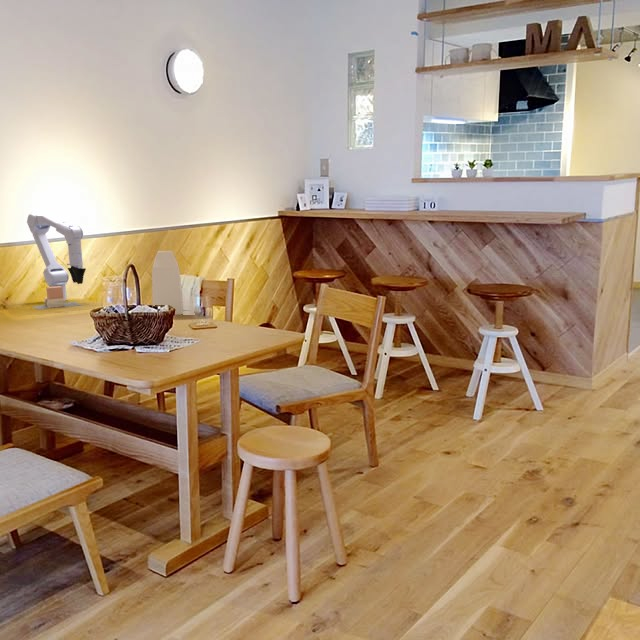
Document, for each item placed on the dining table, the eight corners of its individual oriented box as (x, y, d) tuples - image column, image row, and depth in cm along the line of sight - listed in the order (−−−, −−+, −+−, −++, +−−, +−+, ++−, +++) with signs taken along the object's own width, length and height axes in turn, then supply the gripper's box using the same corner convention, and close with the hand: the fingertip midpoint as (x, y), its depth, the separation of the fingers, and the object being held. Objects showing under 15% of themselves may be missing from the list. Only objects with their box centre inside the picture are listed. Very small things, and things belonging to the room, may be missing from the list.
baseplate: (32, 309, 330) (31, 306, 330) (75, 305, 340) (74, 302, 340) (38, 312, 319) (37, 309, 319) (82, 308, 329) (82, 305, 329)
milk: (152, 315, 303) (148, 252, 299) (155, 311, 314) (151, 250, 310) (182, 314, 304) (178, 251, 300) (183, 310, 316) (180, 249, 311)
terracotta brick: (47, 298, 329) (46, 287, 328) (61, 297, 332) (60, 286, 331) (49, 299, 325) (48, 288, 324) (63, 298, 328) (62, 286, 327)
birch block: (45, 305, 330) (44, 298, 329) (61, 304, 333) (60, 296, 333) (48, 307, 324) (47, 299, 323) (64, 306, 328) (64, 298, 327)
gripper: (62, 253, 339) (65, 282, 342) (70, 254, 327) (72, 285, 329) (78, 252, 343) (80, 281, 345) (86, 253, 331) (88, 283, 333)
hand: (77, 283), depth 338 cm, fingers open, 7 cm apart
